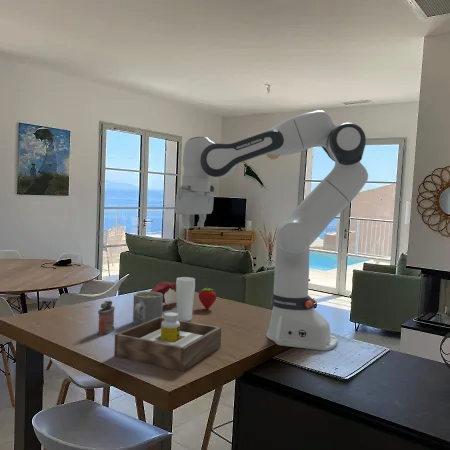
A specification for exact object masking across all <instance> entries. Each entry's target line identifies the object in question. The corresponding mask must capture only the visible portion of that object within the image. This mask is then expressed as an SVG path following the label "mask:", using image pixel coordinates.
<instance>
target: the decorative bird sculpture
mask: <svg viewBox="0 0 450 450" xmlns="http://www.w3.org/2000/svg"><path fill="white" fill-rule="evenodd" d="M169 290H172V291H174V292H175V293H176V282H169V281H164V282H158V283H157V284H156V285H154V286H153V287H152V289H151V290H149V292H159V293H162V294H163V304H165V306H163V305H162V310H164V308H165V307H169V306H170V304H169V305H168V304H167V303H166V299H165V294H166V293H168V292H169Z"/></svg>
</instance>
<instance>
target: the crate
mask: <svg viewBox="0 0 450 450" xmlns="http://www.w3.org/2000/svg"><path fill="white" fill-rule="evenodd" d="M164 320H165V319H164V316H162V317H157V318H154V319H152V320H149V321H147V322H144V323H142V324H140V325H137V326H136V325H134V326H132V327H130V328H127V329H126V330H122V331H120V332H118V333H115V334H114V350H113V352H114V353H113V354H114V355H113V356H114V357H118V358H122V359H125V360H126V359H127V360H131V361H135V362H140V363H143V364H148V365H151V366H152V365H153V366H157V367H162V368H166V369H171V370H173V371H174V370H175V371H179V372H186V371H187V370H188V369H190V368H192V367H193V366H194V365H196V364H198V363H199V362H201V361H202V360H203V359H205V358H207V357H208V356H210V355H211V354H212V353H214V352H215V351H217V350H218V349H220V348H221V346H222V327H221V326H215V325H209V324H203V323H198V322H192V321H182V320H178V319H177V321H178V322H179V323H180V335H179V340H178V341H176V342H174V343H173V342H168V341H163V340H161V323H162V322H163V321H164Z"/></svg>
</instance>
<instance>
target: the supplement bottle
mask: <svg viewBox="0 0 450 450" xmlns="http://www.w3.org/2000/svg"><path fill="white" fill-rule="evenodd" d="M163 317H164V319H165V320H164V321H163V322H162V323H161V340H163V341H168V342H173V343H174V342H176V341H178V340H179V335H180V323H179V322H178V321H177V320H178V314H177V312H171V311H170V312H164V314H163Z"/></svg>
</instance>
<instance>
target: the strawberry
mask: <svg viewBox="0 0 450 450" xmlns="http://www.w3.org/2000/svg"><path fill="white" fill-rule="evenodd" d="M205 286H206V287H204V288H202V289H201V290H200V291H199V293H198V298H199V301H200V303H201V305H202V306H203V307H204V308H205V310H209V309H210V308H211V307H212V305H213V304H214V303H215V302H216V299H217V294H216V292H215V291H214V289H213V288H210V287H209V288H208V286H207V284H206V285H205Z"/></svg>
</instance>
